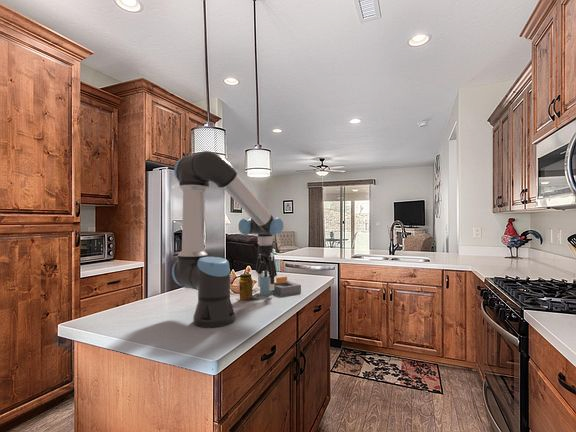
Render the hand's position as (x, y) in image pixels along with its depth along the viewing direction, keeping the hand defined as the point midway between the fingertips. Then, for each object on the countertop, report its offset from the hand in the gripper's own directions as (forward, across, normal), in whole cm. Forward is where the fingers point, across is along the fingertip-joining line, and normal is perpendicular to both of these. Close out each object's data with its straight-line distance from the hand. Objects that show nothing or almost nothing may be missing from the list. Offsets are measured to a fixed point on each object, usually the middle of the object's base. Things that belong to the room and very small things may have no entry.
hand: (266, 288), depth 158 cm
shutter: (-1, +4, -10) cm, 11 cm away
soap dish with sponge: (+3, +1, -10) cm, 10 cm away
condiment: (+3, -4, +12) cm, 13 cm away
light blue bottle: (+3, 0, 0) cm, 3 cm away
